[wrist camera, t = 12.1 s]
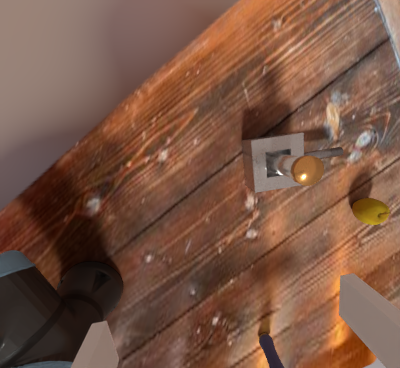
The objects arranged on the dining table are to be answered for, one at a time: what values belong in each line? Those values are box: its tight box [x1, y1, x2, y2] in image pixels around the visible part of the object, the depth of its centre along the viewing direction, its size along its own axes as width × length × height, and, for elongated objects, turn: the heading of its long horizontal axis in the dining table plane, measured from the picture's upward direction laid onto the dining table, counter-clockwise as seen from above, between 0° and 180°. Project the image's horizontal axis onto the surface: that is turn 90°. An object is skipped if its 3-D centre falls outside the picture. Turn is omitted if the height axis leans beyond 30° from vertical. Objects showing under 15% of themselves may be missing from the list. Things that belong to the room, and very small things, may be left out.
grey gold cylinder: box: [266, 153, 324, 186], centre depth 38 cm, size 5×5×14 cm
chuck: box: [242, 133, 343, 193], centre depth 44 cm, size 21×11×6 cm, turn 98°
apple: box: [352, 198, 390, 225], centre depth 48 cm, size 6×6×8 cm
